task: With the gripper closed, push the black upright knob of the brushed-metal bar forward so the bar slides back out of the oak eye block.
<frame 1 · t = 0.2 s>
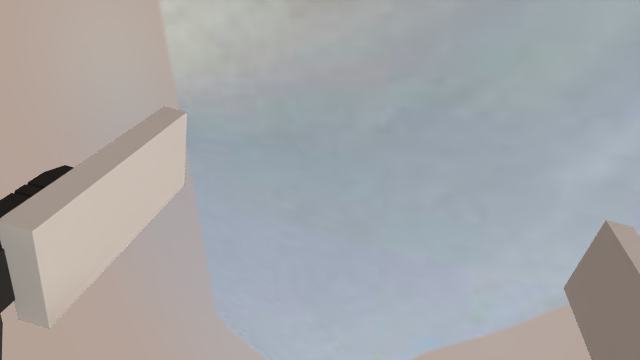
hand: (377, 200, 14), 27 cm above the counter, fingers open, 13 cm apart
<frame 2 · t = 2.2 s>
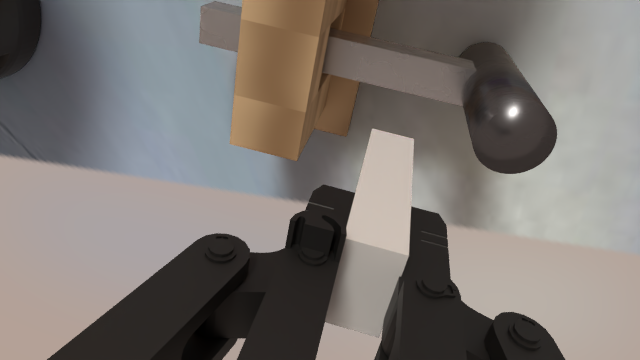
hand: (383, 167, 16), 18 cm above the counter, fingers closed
eye block: (314, 28, 32), on the counter
hook rod: (357, 64, 27), point 6 cm above the counter, slide at 0.0 cm
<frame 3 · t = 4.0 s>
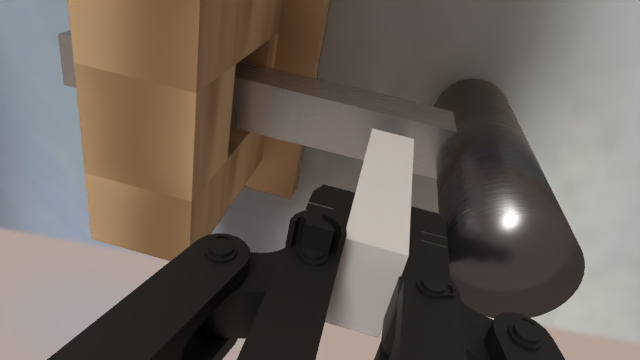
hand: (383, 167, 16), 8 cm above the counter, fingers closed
eye block: (242, 58, 24), on the counter
hook rod: (282, 119, 18), point 6 cm above the counter, slide at 0.0 cm, touching gripper
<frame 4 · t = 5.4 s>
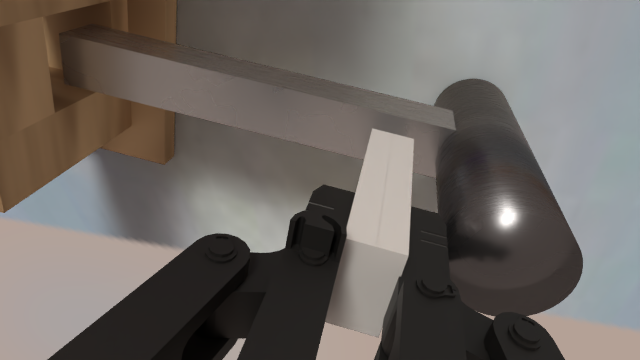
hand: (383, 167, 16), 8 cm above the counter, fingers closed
eye block: (106, 24, 24), on the counter
hook rod: (282, 118, 18), point 6 cm above the counter, slide at 7.8 cm, touching gripper
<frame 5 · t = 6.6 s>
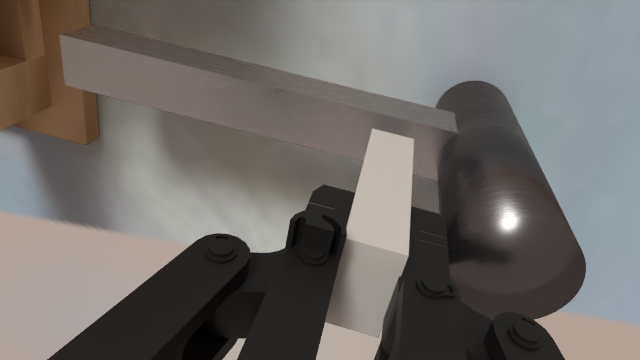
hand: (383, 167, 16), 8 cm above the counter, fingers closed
eye block: (22, 5, 25), on the counter
hook rod: (283, 120, 18), point 6 cm above the counter, slide at 12.7 cm, touching gripper
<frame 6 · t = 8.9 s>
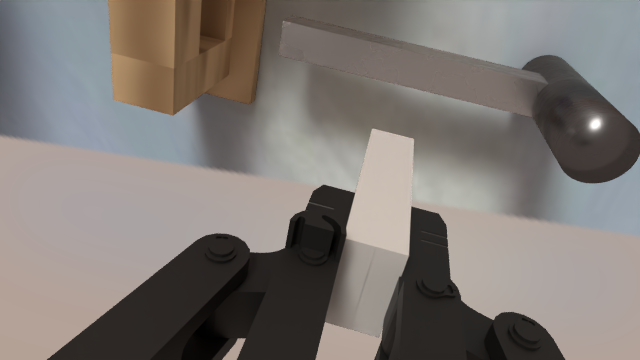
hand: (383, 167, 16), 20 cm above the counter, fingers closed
eye block: (215, 1, 35), on the counter
hook rod: (433, 76, 28), point 6 cm above the counter, slide at 13.0 cm
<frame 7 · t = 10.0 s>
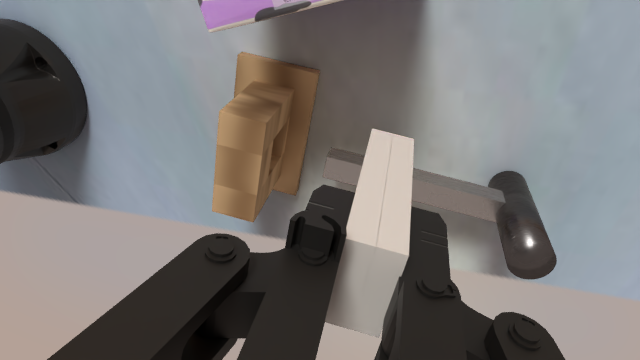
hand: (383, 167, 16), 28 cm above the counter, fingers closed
eye block: (271, 125, 48), on the counter
hook rod: (428, 196, 41), point 6 cm above the counter, slide at 13.0 cm
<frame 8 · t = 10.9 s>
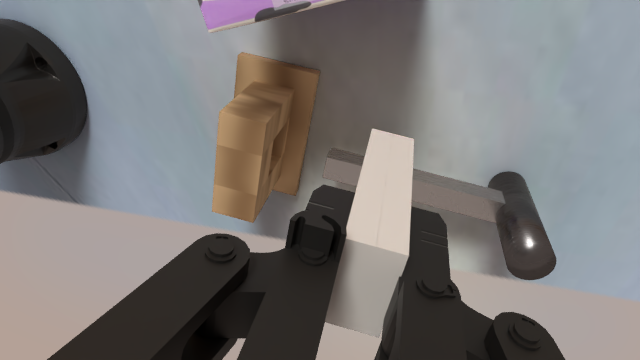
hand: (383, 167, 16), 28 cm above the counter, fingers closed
eye block: (271, 125, 48), on the counter
hook rod: (428, 196, 41), point 6 cm above the counter, slide at 13.0 cm
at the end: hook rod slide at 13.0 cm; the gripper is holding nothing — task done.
